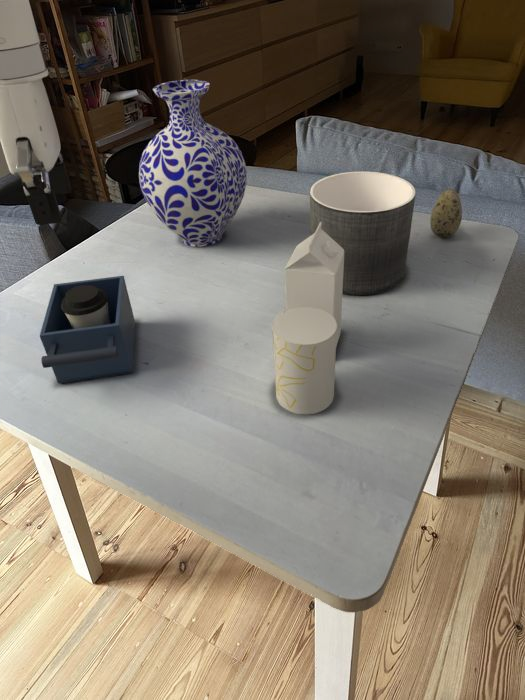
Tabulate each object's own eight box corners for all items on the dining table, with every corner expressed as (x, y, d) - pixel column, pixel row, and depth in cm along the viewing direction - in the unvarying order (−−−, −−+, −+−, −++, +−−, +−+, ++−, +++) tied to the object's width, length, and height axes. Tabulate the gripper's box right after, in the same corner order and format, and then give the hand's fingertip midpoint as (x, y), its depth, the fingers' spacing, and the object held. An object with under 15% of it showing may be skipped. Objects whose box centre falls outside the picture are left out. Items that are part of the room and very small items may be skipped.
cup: (264, 392, 76) (259, 324, 69) (305, 367, 80) (305, 300, 73) (303, 423, 71) (303, 353, 64) (346, 394, 75) (350, 325, 68)
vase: (132, 238, 117) (99, 90, 98) (210, 207, 128) (193, 68, 109) (190, 272, 104) (165, 109, 85) (271, 235, 115) (264, 82, 96)
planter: (315, 299, 94) (315, 215, 85) (305, 251, 108) (305, 174, 99) (415, 292, 94) (428, 208, 85) (393, 245, 108) (401, 168, 98)
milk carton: (286, 354, 83) (283, 242, 71) (298, 327, 88) (296, 219, 76) (332, 360, 81) (336, 247, 69) (340, 333, 86) (346, 223, 74)
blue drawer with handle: (131, 392, 78) (117, 343, 72) (53, 403, 77) (33, 354, 71) (134, 320, 92) (123, 275, 86) (69, 329, 91) (53, 284, 85)
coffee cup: (129, 341, 86) (115, 288, 80) (97, 365, 82) (79, 312, 76) (99, 328, 89) (83, 277, 83) (66, 351, 85) (47, 298, 79)
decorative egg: (431, 228, 113) (438, 182, 107) (460, 232, 111) (469, 185, 105) (424, 240, 109) (431, 193, 103) (455, 245, 107) (464, 197, 101)
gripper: (-6, 53, 67) (37, 186, 78) (-46, 84, 53) (12, 240, 64) (55, 48, 68) (90, 180, 78) (31, 77, 54) (76, 232, 65)
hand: (55, 207), depth 71 cm, fingers open, 9 cm apart
